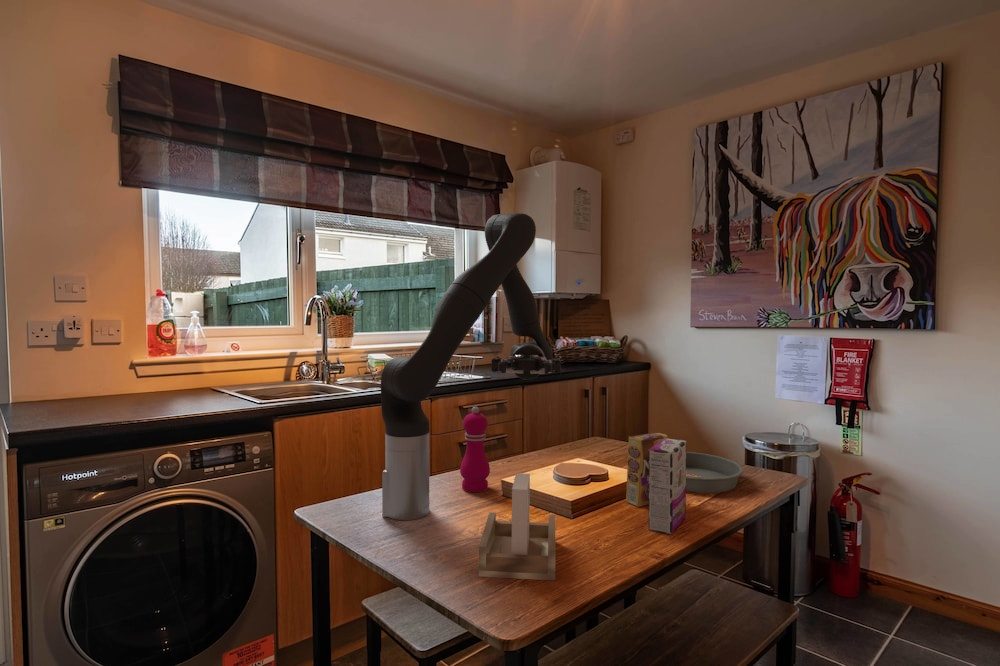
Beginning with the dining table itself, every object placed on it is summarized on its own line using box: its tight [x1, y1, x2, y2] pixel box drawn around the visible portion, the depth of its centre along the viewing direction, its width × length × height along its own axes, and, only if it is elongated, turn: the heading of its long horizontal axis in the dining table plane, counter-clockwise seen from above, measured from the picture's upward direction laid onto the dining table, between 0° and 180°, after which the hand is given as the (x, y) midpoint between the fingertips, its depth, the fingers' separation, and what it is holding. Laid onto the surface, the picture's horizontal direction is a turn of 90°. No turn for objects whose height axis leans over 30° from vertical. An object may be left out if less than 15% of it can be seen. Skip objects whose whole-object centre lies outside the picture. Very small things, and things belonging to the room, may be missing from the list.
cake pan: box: [686, 451, 745, 494], centre depth 145 cm, size 25×25×4 cm
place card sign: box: [499, 472, 542, 556], centre depth 97 cm, size 7×10×13 cm
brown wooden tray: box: [478, 511, 557, 581], centre depth 98 cm, size 12×15×5 cm
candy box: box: [625, 432, 669, 508], centre depth 127 cm, size 9×4×15 cm, turn 123°
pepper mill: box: [459, 406, 491, 493], centre depth 136 cm, size 7×7×20 cm
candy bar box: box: [648, 438, 687, 535], centre depth 114 cm, size 11×5×16 cm, turn 148°
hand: (524, 368), depth 110 cm, fingers open, 8 cm apart
